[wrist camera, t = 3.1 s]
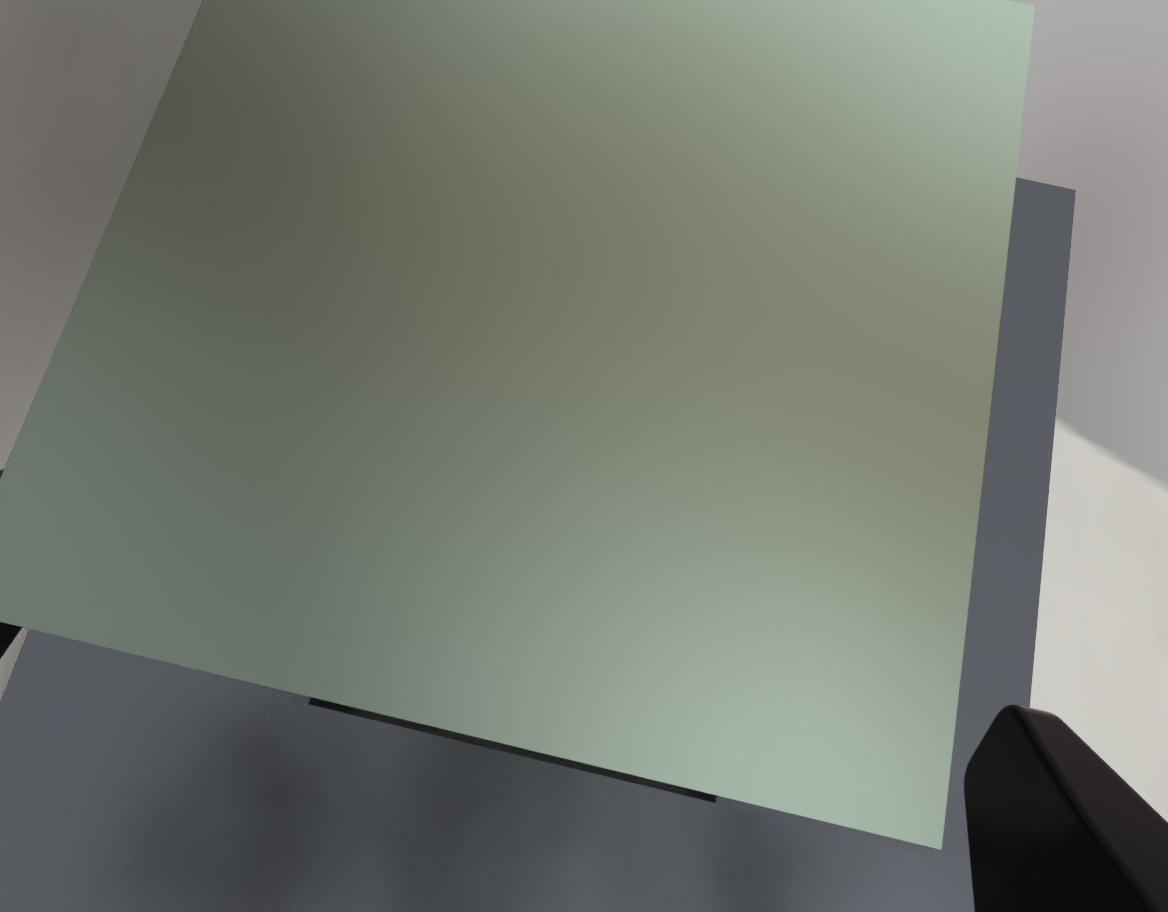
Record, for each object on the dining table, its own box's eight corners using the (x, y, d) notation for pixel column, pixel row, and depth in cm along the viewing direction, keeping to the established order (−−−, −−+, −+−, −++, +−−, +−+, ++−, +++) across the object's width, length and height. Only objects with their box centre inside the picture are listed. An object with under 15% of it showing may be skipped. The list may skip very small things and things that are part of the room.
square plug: (655, 730, 17) (941, 850, 4) (404, 669, 17) (-54, 606, 4) (704, 484, 18) (1035, 5, 5) (470, 430, 18) (267, -152, 6)
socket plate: (893, 1195, 15) (974, 1318, 12) (0, 966, 15) (-131, 1030, 12) (998, 265, 19) (1075, 190, 17) (313, 115, 20) (270, 17, 17)
